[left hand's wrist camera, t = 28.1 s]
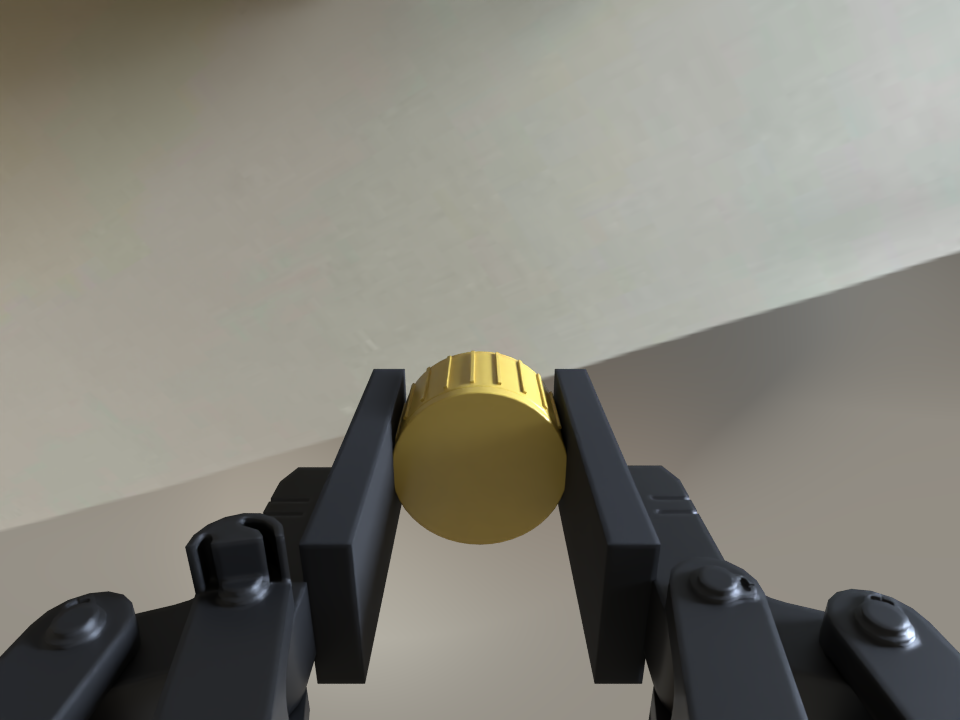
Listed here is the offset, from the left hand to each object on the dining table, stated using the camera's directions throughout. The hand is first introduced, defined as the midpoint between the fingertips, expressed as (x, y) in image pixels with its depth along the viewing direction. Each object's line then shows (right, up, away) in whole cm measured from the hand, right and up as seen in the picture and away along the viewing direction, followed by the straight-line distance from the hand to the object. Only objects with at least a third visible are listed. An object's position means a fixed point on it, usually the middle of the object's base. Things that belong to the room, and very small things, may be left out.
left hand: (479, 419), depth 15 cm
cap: (0, -1, -2) cm, 2 cm away
